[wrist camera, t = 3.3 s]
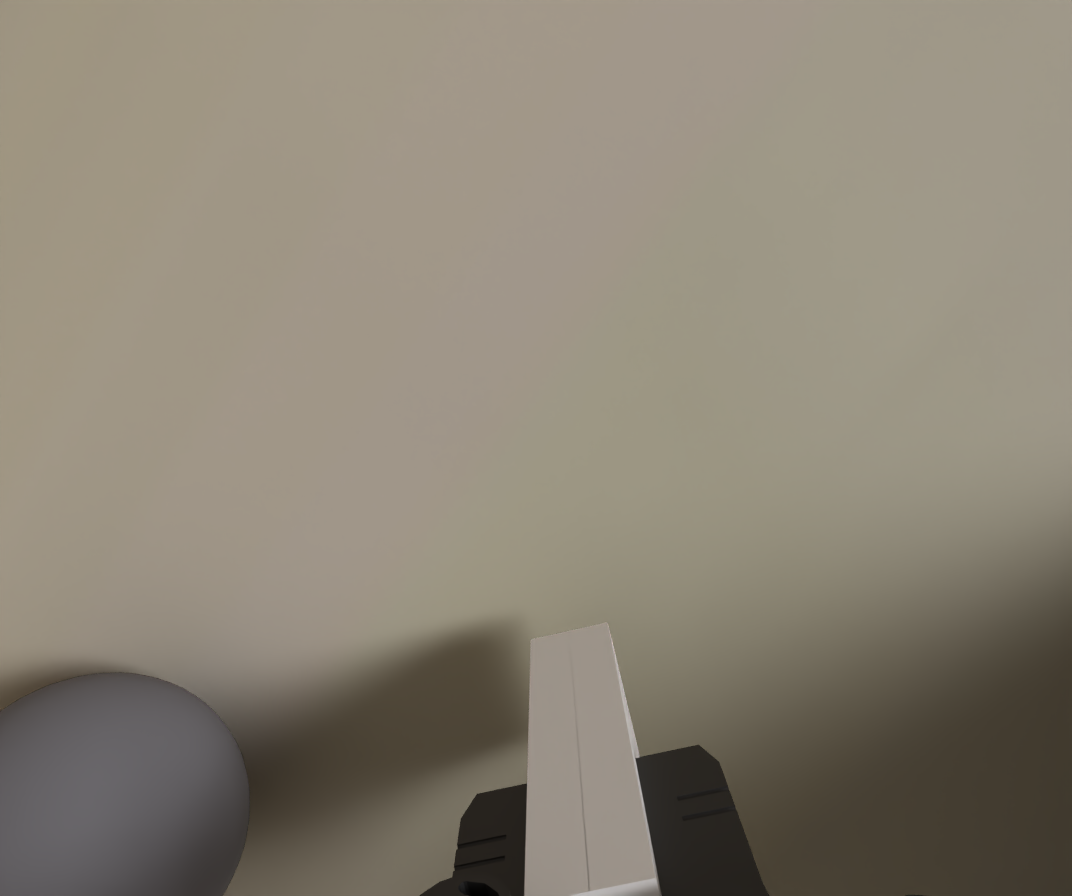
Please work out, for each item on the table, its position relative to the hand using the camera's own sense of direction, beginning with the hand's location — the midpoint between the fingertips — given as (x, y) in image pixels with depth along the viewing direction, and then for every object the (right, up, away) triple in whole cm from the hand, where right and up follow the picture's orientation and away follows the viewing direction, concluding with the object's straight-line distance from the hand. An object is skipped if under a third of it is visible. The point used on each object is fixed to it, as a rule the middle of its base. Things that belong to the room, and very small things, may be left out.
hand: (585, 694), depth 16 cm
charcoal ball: (-9, -2, 0) cm, 10 cm away
